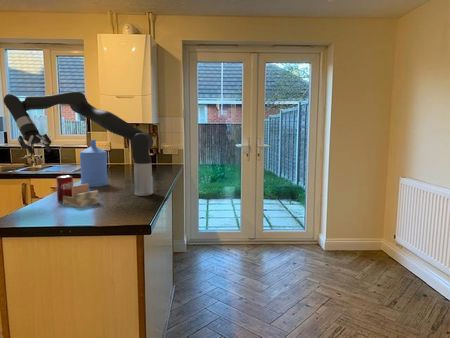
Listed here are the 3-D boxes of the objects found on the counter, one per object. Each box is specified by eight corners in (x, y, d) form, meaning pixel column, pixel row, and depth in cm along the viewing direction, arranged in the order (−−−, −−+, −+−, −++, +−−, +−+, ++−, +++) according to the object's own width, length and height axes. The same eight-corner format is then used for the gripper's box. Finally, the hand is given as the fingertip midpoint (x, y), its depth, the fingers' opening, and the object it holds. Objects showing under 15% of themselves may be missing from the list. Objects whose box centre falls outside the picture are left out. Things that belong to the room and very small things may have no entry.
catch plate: (87, 201, 160) (87, 183, 159) (89, 201, 159) (88, 183, 158) (72, 204, 152) (71, 186, 151) (73, 204, 152) (73, 186, 151)
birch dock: (83, 200, 163) (82, 188, 163) (98, 202, 158) (98, 190, 157) (63, 204, 154) (62, 191, 153) (78, 207, 148) (78, 194, 148)
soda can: (77, 199, 164) (76, 176, 162) (66, 202, 157) (65, 178, 155) (64, 198, 166) (63, 175, 164) (53, 201, 159) (52, 177, 157)
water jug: (99, 188, 195) (97, 140, 191) (75, 186, 198) (73, 140, 194) (113, 183, 210) (111, 139, 206) (90, 182, 213) (89, 139, 209)
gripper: (38, 131, 176) (52, 155, 172) (10, 133, 164) (24, 158, 160) (43, 122, 172) (57, 146, 168) (14, 123, 160) (29, 149, 157)
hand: (41, 152), depth 164 cm, fingers open, 8 cm apart
